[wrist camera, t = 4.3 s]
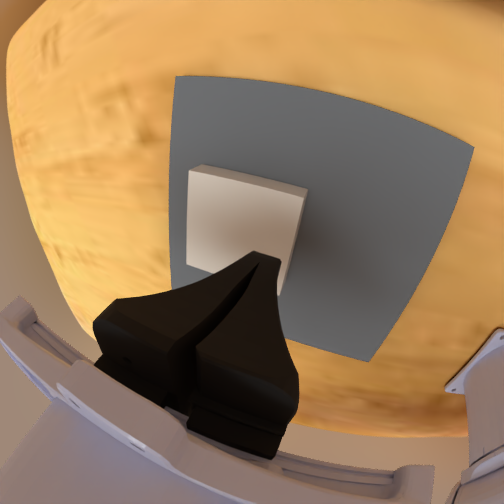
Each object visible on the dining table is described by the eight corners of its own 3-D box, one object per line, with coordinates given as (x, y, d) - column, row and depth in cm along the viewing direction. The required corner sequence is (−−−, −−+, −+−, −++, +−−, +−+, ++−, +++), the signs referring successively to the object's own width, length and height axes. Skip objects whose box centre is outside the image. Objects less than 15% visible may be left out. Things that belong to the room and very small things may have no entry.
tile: (303, 197, 12) (188, 170, 14) (279, 295, 16) (186, 264, 17) (308, 188, 14) (202, 163, 15) (285, 281, 17) (197, 252, 18)
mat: (468, 144, 10) (474, 147, 9) (368, 354, 19) (368, 362, 18) (183, 76, 13) (175, 76, 13) (177, 290, 22) (172, 296, 21)
